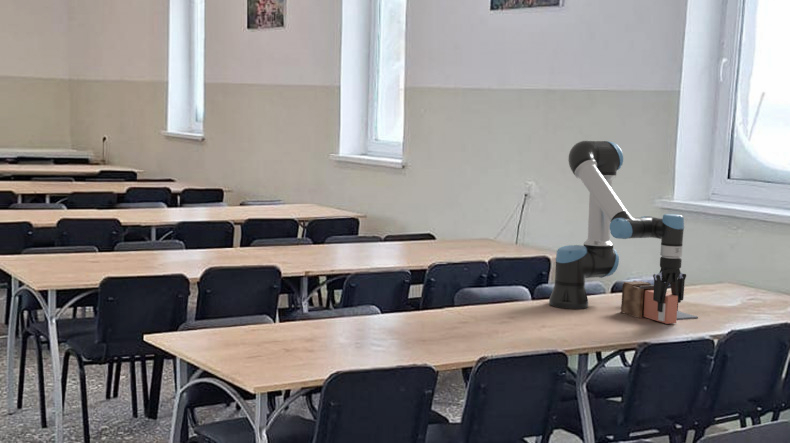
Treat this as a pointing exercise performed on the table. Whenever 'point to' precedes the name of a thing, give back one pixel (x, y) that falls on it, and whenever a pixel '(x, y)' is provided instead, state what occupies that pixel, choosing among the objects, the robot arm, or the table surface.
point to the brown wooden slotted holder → (634, 297)
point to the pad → (685, 316)
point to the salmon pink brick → (652, 307)
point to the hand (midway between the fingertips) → (667, 319)
